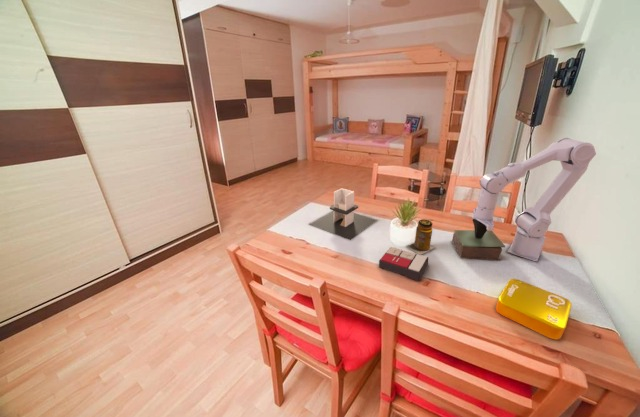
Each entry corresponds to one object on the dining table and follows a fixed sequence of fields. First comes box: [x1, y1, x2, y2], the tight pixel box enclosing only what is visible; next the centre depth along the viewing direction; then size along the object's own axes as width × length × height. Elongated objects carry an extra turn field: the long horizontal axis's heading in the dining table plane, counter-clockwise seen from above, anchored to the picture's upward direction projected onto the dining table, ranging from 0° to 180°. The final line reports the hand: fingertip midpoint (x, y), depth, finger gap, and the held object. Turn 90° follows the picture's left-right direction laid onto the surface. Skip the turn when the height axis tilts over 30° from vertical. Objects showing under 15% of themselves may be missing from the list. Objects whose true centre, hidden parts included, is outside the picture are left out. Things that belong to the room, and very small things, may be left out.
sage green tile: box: [453, 229, 506, 248], centre depth 103 cm, size 14×12×1 cm
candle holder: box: [309, 188, 378, 241], centre depth 129 cm, size 25×24×16 cm
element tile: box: [495, 278, 572, 341], centre depth 76 cm, size 15×15×5 cm
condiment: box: [406, 218, 434, 256], centre depth 107 cm, size 7×8×12 cm
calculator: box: [378, 246, 429, 282], centre depth 97 cm, size 11×4×15 cm
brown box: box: [451, 231, 503, 261], centre depth 105 cm, size 14×12×5 cm
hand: (478, 237), depth 103 cm, fingers closed
